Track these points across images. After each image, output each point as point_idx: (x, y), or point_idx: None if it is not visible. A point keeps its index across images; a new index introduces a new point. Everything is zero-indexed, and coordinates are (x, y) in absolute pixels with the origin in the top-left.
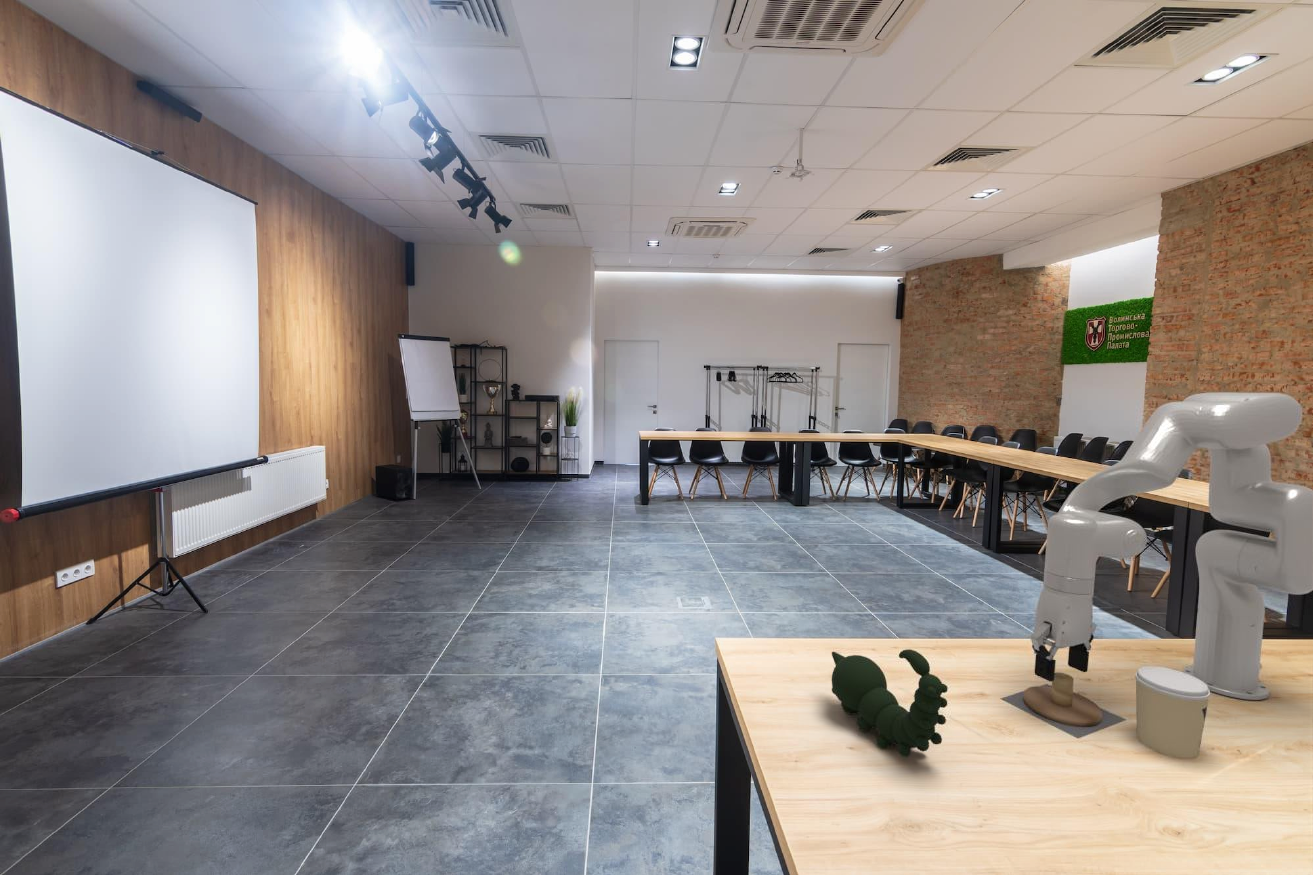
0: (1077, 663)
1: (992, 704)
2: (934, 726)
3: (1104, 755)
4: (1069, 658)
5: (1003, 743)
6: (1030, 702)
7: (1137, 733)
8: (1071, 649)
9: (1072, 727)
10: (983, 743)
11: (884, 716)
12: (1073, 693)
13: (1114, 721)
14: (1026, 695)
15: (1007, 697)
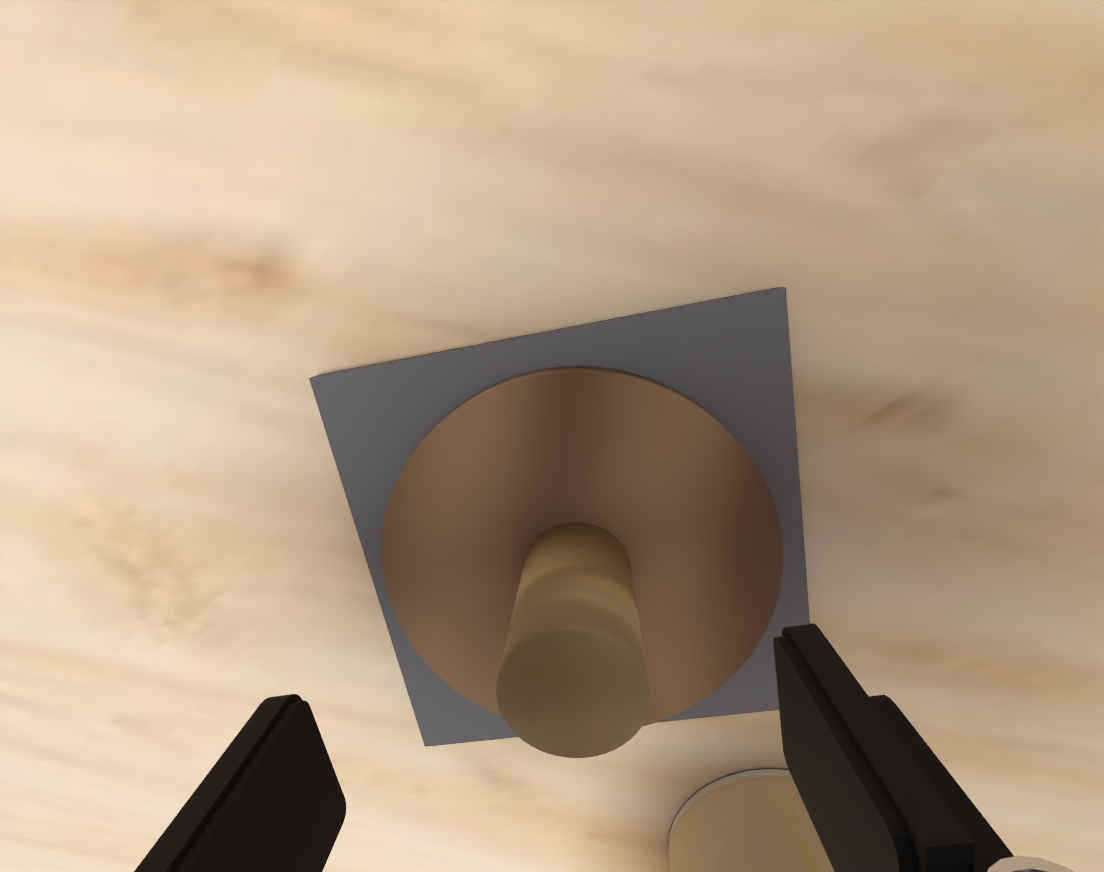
0: (806, 753)
1: (253, 391)
2: None
3: (455, 813)
4: (810, 697)
5: (99, 665)
6: (389, 525)
7: (700, 824)
8: (874, 834)
9: None
10: (13, 645)
11: None
12: (759, 511)
13: (734, 703)
14: (430, 455)
15: (362, 379)
